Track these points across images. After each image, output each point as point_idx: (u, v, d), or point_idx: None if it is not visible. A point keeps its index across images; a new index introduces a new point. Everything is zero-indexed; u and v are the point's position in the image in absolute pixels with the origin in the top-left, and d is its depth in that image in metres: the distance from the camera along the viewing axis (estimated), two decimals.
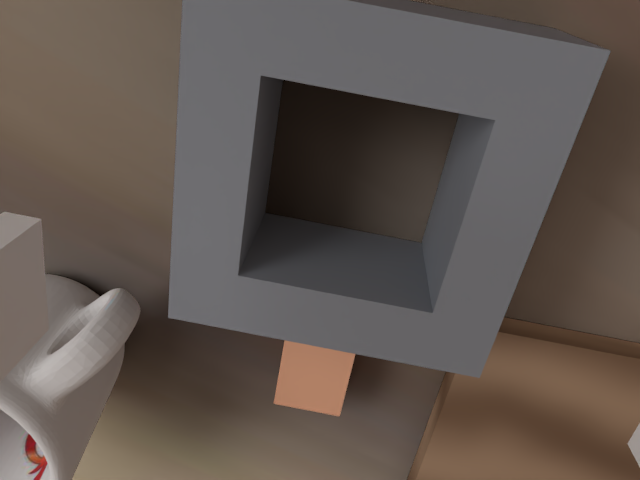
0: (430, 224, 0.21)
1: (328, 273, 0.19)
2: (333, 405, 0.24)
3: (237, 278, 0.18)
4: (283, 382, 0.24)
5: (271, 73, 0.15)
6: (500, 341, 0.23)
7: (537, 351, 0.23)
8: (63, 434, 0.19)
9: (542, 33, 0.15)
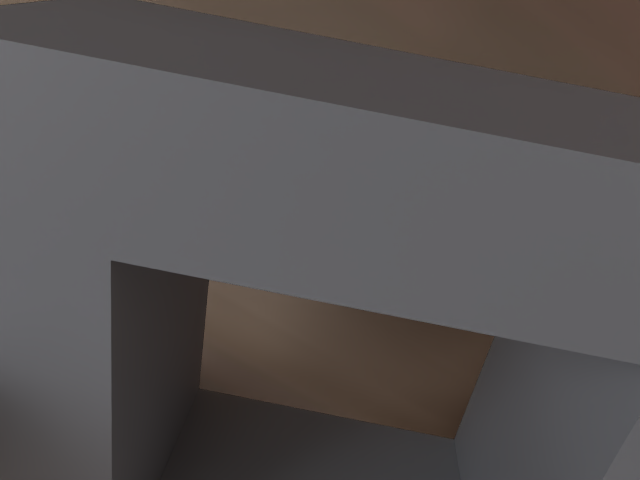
0: (472, 425, 0.13)
1: None
2: None
3: None
4: None
5: (135, 256, 0.06)
6: None
7: None
8: None
9: None
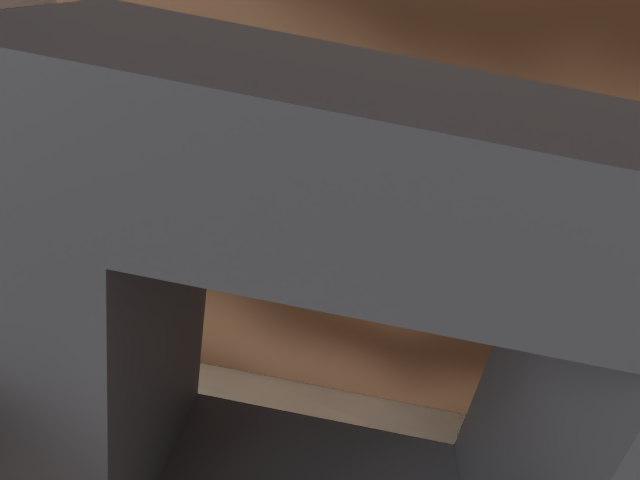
0: (472, 431, 0.12)
1: None
2: None
3: None
4: None
5: (131, 265, 0.06)
6: None
7: None
8: None
9: None
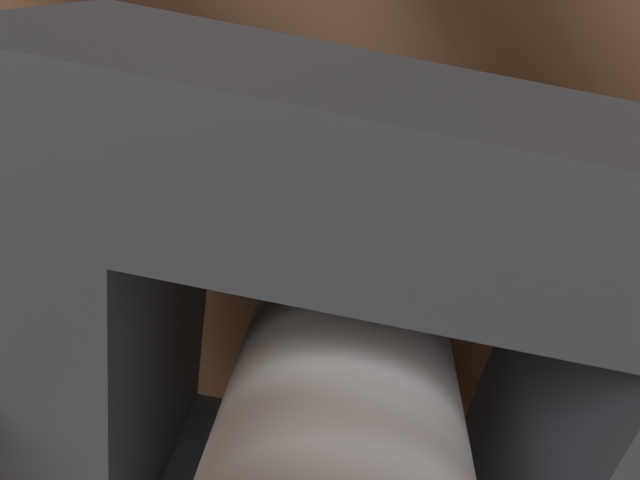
0: (471, 431, 0.12)
1: None
2: None
3: None
4: None
5: (132, 265, 0.06)
6: None
7: None
8: None
9: None
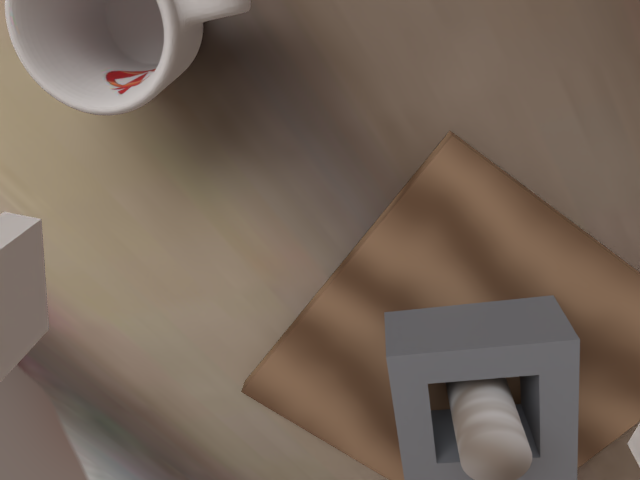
0: (522, 397, 0.38)
1: None
2: None
3: (437, 464, 0.36)
4: None
5: (432, 381, 0.33)
6: (464, 154, 0.32)
7: (484, 171, 0.33)
8: (179, 48, 0.25)
9: (547, 327, 0.33)
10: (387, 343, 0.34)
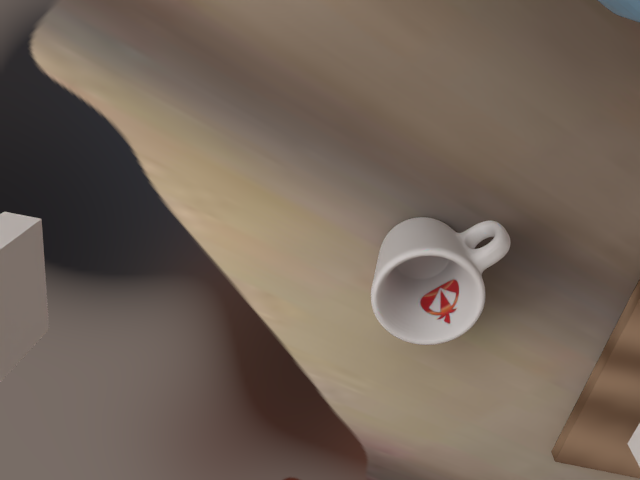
0: None
1: None
2: None
3: None
4: None
5: None
6: None
7: None
8: None
9: None
10: None
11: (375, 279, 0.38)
